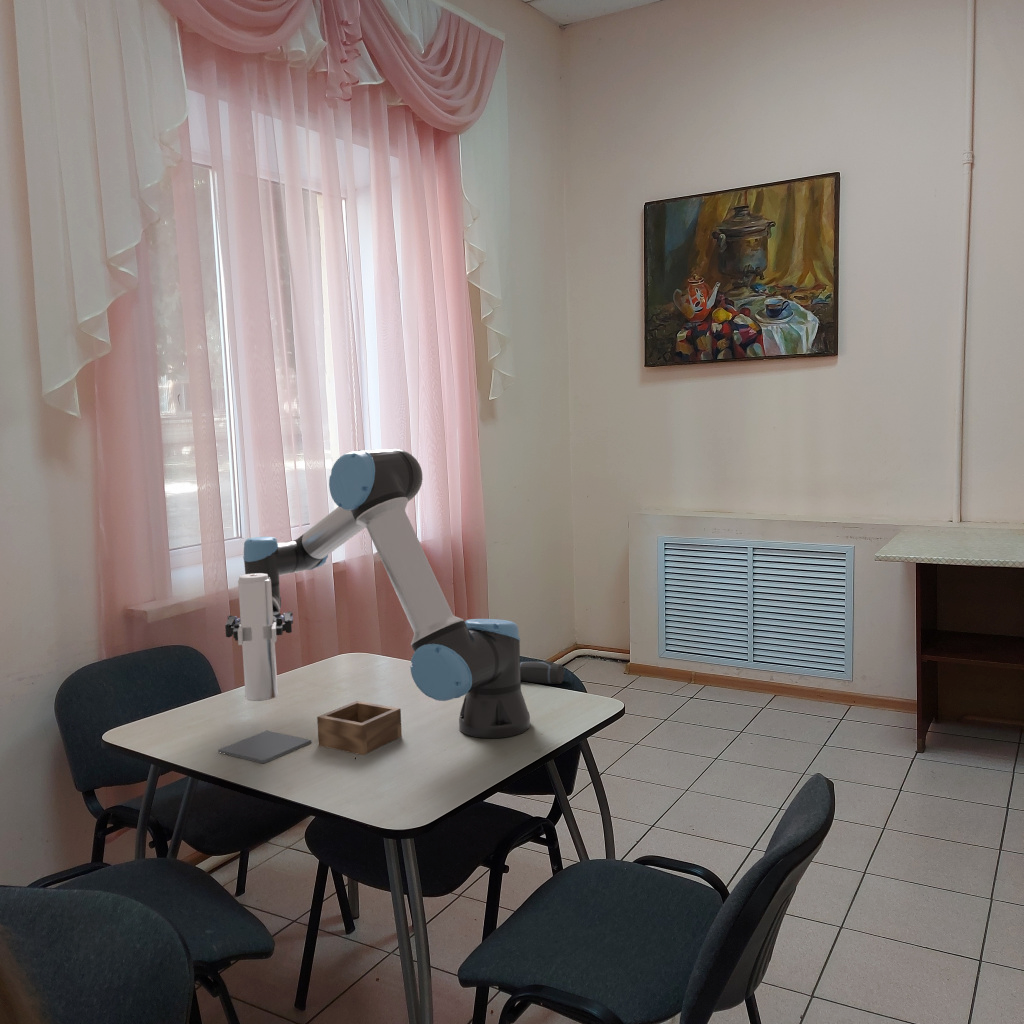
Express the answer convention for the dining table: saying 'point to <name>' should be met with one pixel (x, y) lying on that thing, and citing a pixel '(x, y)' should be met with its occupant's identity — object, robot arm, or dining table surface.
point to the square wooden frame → (359, 727)
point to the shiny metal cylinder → (257, 637)
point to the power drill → (541, 672)
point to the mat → (264, 746)
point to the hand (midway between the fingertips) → (257, 636)
